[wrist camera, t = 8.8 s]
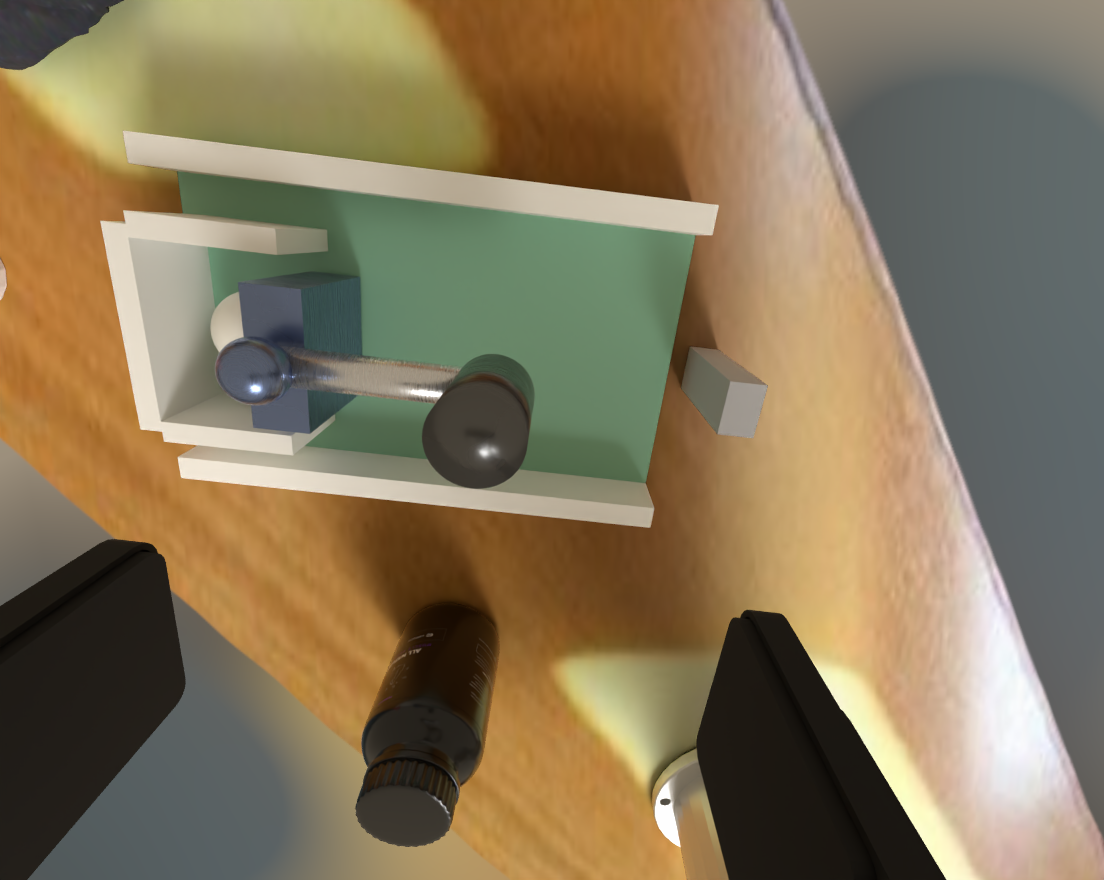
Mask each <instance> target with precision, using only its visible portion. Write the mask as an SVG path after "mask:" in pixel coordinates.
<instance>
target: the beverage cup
mask: <svg viewBox="0 0 1104 880" xmlns="http://www.w3.org/2000/svg"><path fill="white" fill-rule="evenodd" d="M6 287H7V282H6V271H5V267H4V265H3V263H2V261H1V259H0V300H1V299H2V297H3V294H4V292H5V289H6Z"/></svg>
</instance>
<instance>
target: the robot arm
mask: <svg viewBox="0 0 1104 880" xmlns="http://www.w3.org/2000/svg"><path fill="white" fill-rule="evenodd" d="M184 689H185V673H184V667H183V662H182V656H181V650H180V644H179V638H178V632H177V626H176V621H175V615H174V609H173V603H172V597H171V591H170V585H169V579H168V573H167V567H166V562H165V559H164V557H163V556H162V555H161V554H158V552H157V549H156V548H155V547H154V546H153V545H152V544H149V543H144V542H135V541H126V540H117V539H111V540H106V541H104V542H102V543H100V544H98V545H97V546H95V547H93V548H92V549H90V550H89V551H87V552H86V553H84V554H82V555H81V556H79V557H77V558H76V559H74V560H73V561H71V562H70V563H68V564H66V565H65V566H63V567H62V568H60V569H58V570H57V571H56V572H54V573H52V574H51V575H49V576H47V577H46V578H44V579H43V580H41V581H39V582H38V583H36V584H35V585H33V586H31V587H30V588H28V589H27V590H25V591H24V592H22V593H20V594H19V595H17V596H16V597H14V598H12V599H11V600H9V601H8V602H6V603H4V604H3V605H1V606H0V880H27V879H28V878H29V877H30V876H31V875H32V873H33V872H34V871H35V870H36V869H37V868H38V866H39V865H40V864H41V863H42V862H43V861H44V859H45V858H46V857H47V856H48V855H49V854H50V852H51V851H52V850H53V849H54V848H55V847H56V845H57V844H58V843H59V842H60V841H61V839H62V838H63V837H64V836H65V835H66V834H67V832H68V831H69V830H70V829H71V828H72V827H73V825H74V824H75V823H76V822H77V821H78V820H79V818H80V817H81V816H82V815H83V814H84V813H85V811H86V810H87V809H88V808H89V807H90V806H91V804H92V803H93V802H94V801H95V800H96V799H97V797H98V796H99V795H100V794H101V793H102V792H103V790H104V789H105V788H106V787H107V786H108V785H109V783H110V782H111V781H112V780H113V779H114V778H115V776H116V775H117V774H118V773H119V772H120V771H121V769H122V768H123V767H124V766H125V765H126V763H127V762H128V761H129V760H130V759H131V758H132V757H133V755H134V754H135V753H136V752H137V751H138V749H139V748H140V747H141V746H142V745H143V743H144V742H145V741H146V740H147V739H148V738H149V737H150V735H151V734H152V733H153V732H154V731H155V730H156V728H157V727H158V726H159V725H160V724H161V723H162V721H163V720H164V719H165V718H166V717H167V716H168V714H169V713H170V712H171V711H172V710H173V709H174V707H175V706H176V705H177V703H178V702H179V700H180V699H181V697H182V695H183V692H184ZM652 805H653V811H654V818H655V820H656V823H657V825H658V827H659V829H660V830H661V831H662V833H663V834H664V835H665V836H666V837H667V838H668V839H669V840H670V841H671V842H673V843H674V844H676V845H678V846H679V847H681V852H682V858H683V863H684V868H685V873H686V878H687V880H946V878H945V877H944V875H943V873H942V872H941V870H940V869H939V867H938V865H937V864H936V862H935V860H934V859H933V857H932V855H931V854H930V852H929V850H928V849H927V847H926V845H925V844H924V842H923V840H922V839H921V837H920V835H919V834H918V832H917V830H916V829H915V827H914V825H913V824H912V822H911V820H910V819H909V817H908V816H907V814H906V812H905V811H904V809H903V807H902V806H901V804H900V802H899V801H898V799H897V797H896V796H895V794H894V792H893V791H892V789H891V787H890V786H889V784H888V782H887V781H886V779H885V777H884V776H883V774H882V772H881V771H880V769H879V767H878V766H877V764H876V763H875V761H874V759H873V758H872V756H871V754H870V753H869V751H868V749H867V748H866V746H865V744H864V743H863V741H862V739H861V738H860V736H859V734H858V733H857V731H856V729H855V728H854V726H853V724H852V723H851V721H850V720H849V718H848V717H847V716H846V714H845V713H844V712H843V711H842V710H841V709H840V708H839V706H838V704H837V703H836V701H835V699H834V697H833V696H832V694H831V692H830V691H829V689H828V687H827V686H826V684H825V682H824V681H823V679H822V677H821V676H820V674H819V672H818V671H817V669H816V667H815V666H814V664H813V662H812V661H811V659H810V657H809V656H808V654H807V652H806V651H805V649H804V647H803V646H802V644H801V642H800V641H799V639H798V637H797V636H796V634H795V632H794V631H793V629H792V627H791V626H790V624H789V622H788V621H787V619H786V618H785V617H784V615H782V614H780V613H771V612H762V611H753V610H746V611H744V612H743V613H742V615H741V617H740V618H733V619H732V620H731V622H730V624H729V627H728V631H727V634H726V638H725V641H724V645H723V648H722V652H721V655H720V659H719V662H718V666H717V669H716V673H715V676H714V680H713V683H712V686H711V690H710V693H709V697H708V700H707V704H706V707H705V711H704V714H703V718H702V721H701V725H700V728H699V732H698V736H697V748H696V749H694V750H692V751H690V752H688V753H686V754H684V755H682V756H681V757H679V758H678V759H676V760H675V761H674V762H672V763H671V764H670V765H669V766H668V767H667V768H666V769H665V770H664V771H663V772H662V774H661V775H660V777H659V778H658V780H657V781H656V784H655V787H654V789H653V794H652Z"/></svg>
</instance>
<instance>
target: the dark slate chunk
mask: <svg viewBox="0 0 1104 880" xmlns="http://www.w3.org/2000/svg"><path fill="white" fill-rule="evenodd" d="M121 1H123V0H0V67H1V68H5V69H13V70H23V69H26V68H28V67H31V66H34V65H35V64H37V63H38V62H40V61H41V60H42V59H44V58H45V57H46V56H47V55H48V54H49V53H50V52H52V51H53V50H55V49H56V48H58V47H60V46H62V45H63V44H65V43H66V42H68V41H69V40H70V39H72V38H73V37H76V36H79V35H84V34H87V33H89V30H88V28H90V27H92V26H94V25H96V24H97V23H98V22H99V21H100V19H101V18H102V16H103V15H104V14H106V13H107V12H109V6H113V5H115V4H117V3H119V2H121Z"/></svg>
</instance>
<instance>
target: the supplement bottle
mask: <svg viewBox="0 0 1104 880" xmlns="http://www.w3.org/2000/svg"><path fill="white" fill-rule="evenodd" d="M498 657H499V639H498V635H497V632H496V630H495V628H494V627H493V625H492V624H491V623H490V621H489V620H488V619H487V618H486V617H484V616H483V615H482V614H481V613H479V612H478V611H476V610H474V609H472V608H469V607H467V606H464V605H459V604H452V603H444V604H437V605H433V606H429V607H427V608H425V609H423V610H421V611H419V612H418V613H416V614H415V615H414V616H413V617H412V618H411V619H410V620H409V622H408V623H407V625H406V627H405V629H404V631H403V633H402V635H401V638H400V640H399V642H398V645H397V647H396V650H395V652H394V655H393V657H392V660H391V662H390V665H389V667H388V670H387V672H386V675H385V677H384V679H383V682H382V684H381V687H380V689H379V692H378V694H377V697H376V699H375V702H374V704H373V707H372V709H371V712H370V714H369V717H368V719H367V722H366V724H365V727H364V730H363V734H362V742H361V744H362V753H363V757H364V760H365V763H366V765H367V767H368V768H367V771H366V774H365V776H364V780H363V785H362V788H361V791H360V793H359V796H358V799H357V804H356V816H357V818H358V822H359V823H360V824H361V827H362V828H364V829H365V830H366V832H367V833H369V834H371V835H372V836H373V837H375V838H378V839H379V840H380V841H384V842H387V843H388V844H395V845H397V846H405V847H410V846H414V847H417V846H421V845H426V844H430V843H433V842H434V841H436V840H439V839H440V838H441V837H443V836H444V835H445V833H446V832H447V831H449V828H450V825H451V823H452V820H453V815H454V810H455V805H456V803H457V801H458V798H459V792H460V787H461V786H463V785H464V784H465V783H466V782H467V781H468V780H469V779H470V778H471V777H472V776H473V775H474V773H475V772H476V771H477V769H478V767H479V765H480V763H481V760H482V757H483V752H484V747H485V741H486V734H487V728H488V722H489V715H490V709H491V703H492V696H493V690H494V684H495V677H496V671H497V664H498Z"/></svg>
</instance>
